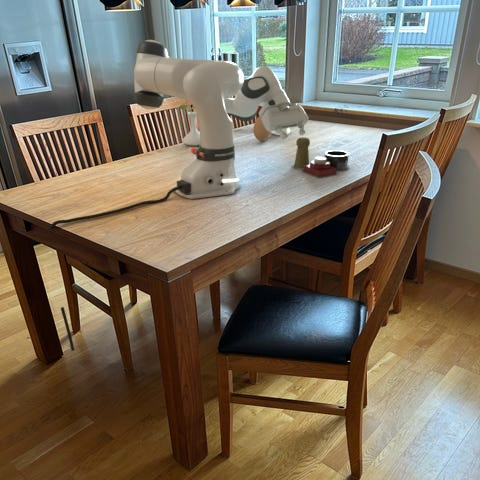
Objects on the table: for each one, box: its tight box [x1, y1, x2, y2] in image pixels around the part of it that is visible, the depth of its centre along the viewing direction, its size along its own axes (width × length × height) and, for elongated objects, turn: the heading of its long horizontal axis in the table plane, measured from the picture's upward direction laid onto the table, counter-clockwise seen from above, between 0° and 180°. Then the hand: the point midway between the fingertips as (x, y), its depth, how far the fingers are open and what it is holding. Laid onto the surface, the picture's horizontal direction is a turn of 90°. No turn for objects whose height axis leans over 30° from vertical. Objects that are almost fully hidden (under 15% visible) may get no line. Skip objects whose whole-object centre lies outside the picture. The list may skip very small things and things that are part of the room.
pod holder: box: [324, 149, 350, 172], centre depth 188 cm, size 9×9×6 cm
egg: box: [253, 116, 272, 142], centre depth 225 cm, size 8×8×11 cm
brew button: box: [313, 156, 326, 164], centre depth 182 cm, size 4×4×2 cm
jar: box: [271, 128, 291, 136], centre depth 238 cm, size 9×8×12 cm
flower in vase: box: [178, 98, 201, 147], centre depth 217 cm, size 13×11×25 cm
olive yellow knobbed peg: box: [293, 136, 311, 170], centre depth 188 cm, size 6×6×11 cm
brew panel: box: [302, 159, 337, 178], centre depth 183 cm, size 8×10×4 cm
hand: (294, 136), depth 188 cm, fingers open, 8 cm apart
